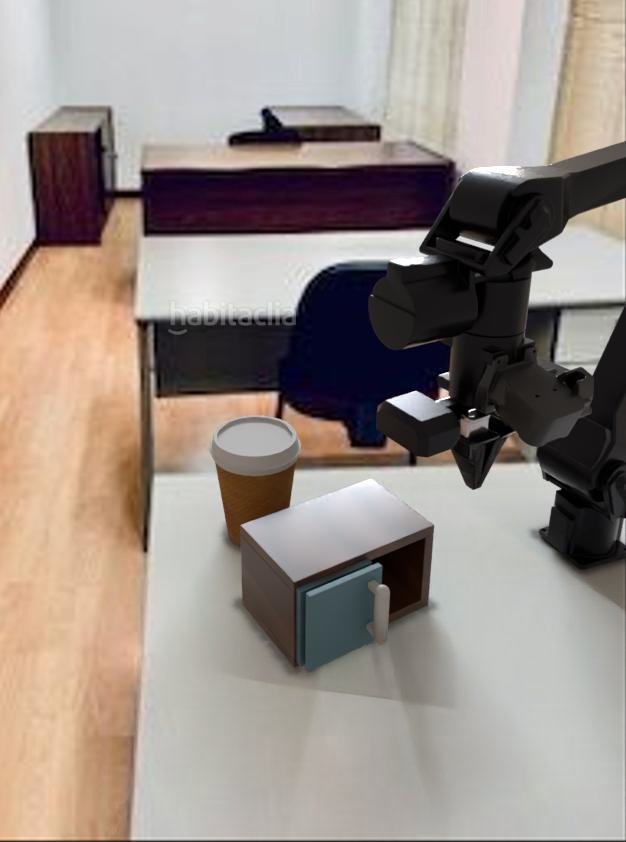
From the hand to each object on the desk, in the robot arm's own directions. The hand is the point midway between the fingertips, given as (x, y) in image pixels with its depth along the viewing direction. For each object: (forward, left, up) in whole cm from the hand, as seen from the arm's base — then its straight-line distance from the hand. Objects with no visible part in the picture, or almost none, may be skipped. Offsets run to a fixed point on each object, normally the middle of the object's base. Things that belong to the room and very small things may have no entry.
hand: (472, 486), depth 68 cm
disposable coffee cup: (+15, -16, -12) cm, 25 cm away
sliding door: (+14, +4, -11) cm, 19 cm away
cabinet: (+12, -3, -12) cm, 17 cm away
